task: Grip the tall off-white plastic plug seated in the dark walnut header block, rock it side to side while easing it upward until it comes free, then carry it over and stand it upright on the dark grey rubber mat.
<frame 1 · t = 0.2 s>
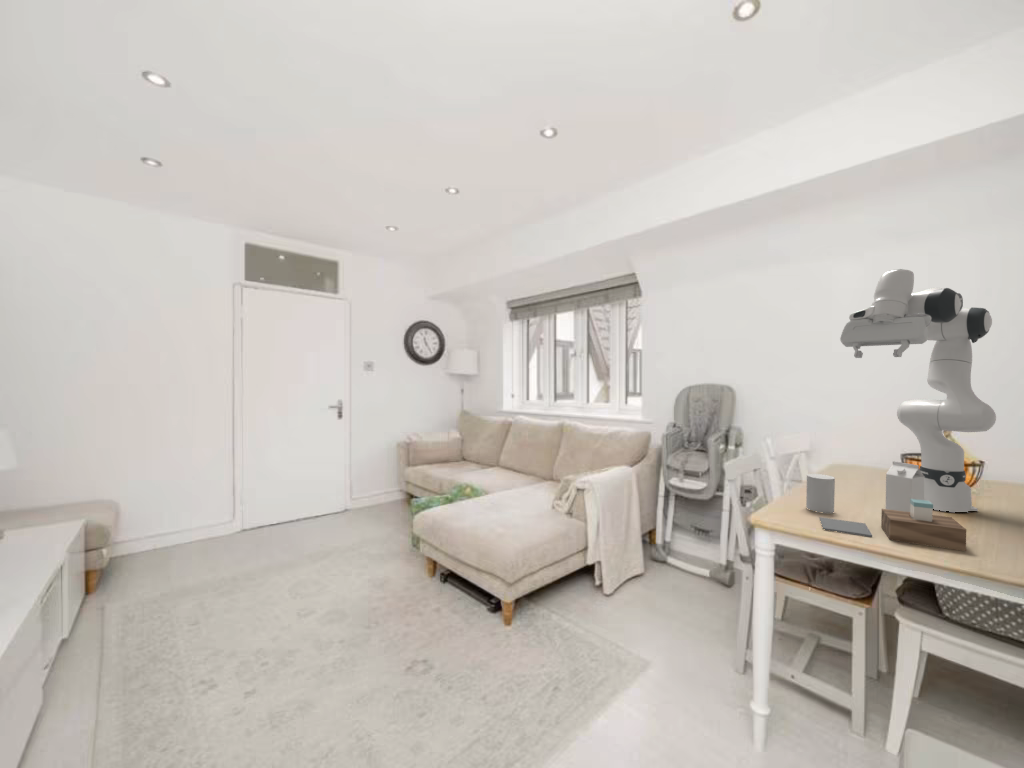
hand: (876, 356, 129), 54 cm above the table, tool tilted 30°, fingers open, 8 cm apart
milk carton: (904, 520, 145), on the table
plug: (920, 520, 129), in the header
mat: (844, 527, 138), on the table
cup: (820, 510, 156), on the table
header: (920, 538, 129), on the table
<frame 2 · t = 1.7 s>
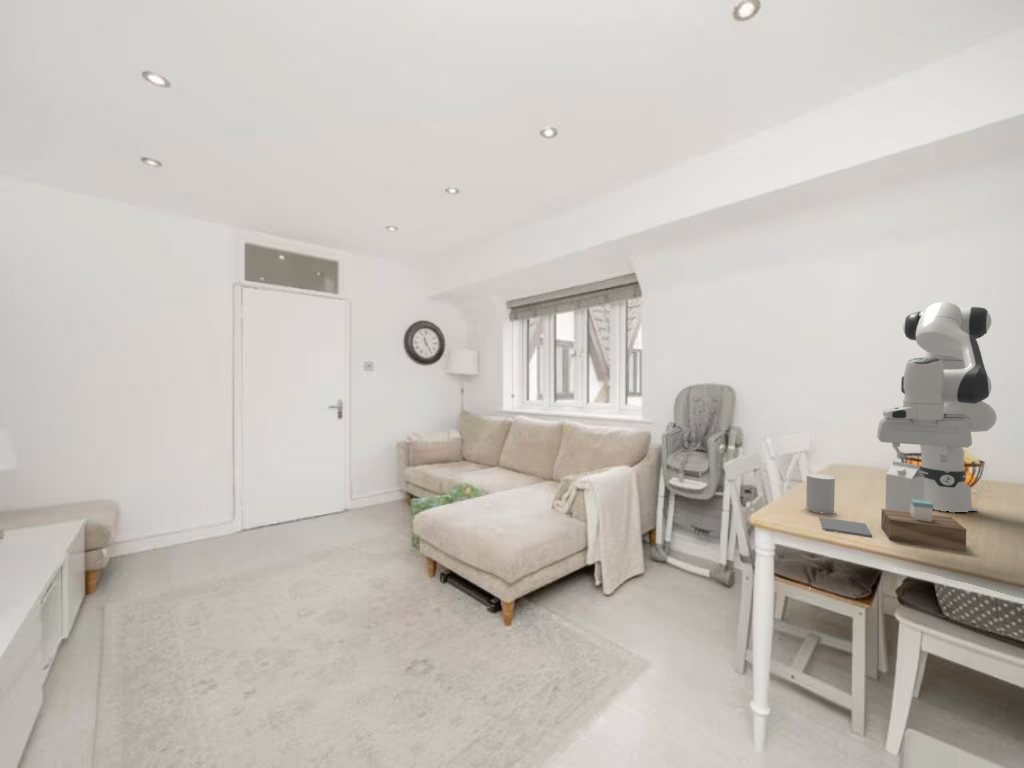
hand: (921, 460, 129), 23 cm above the table, tool pointing down, fingers open, 8 cm apart
nothing on the table moved.
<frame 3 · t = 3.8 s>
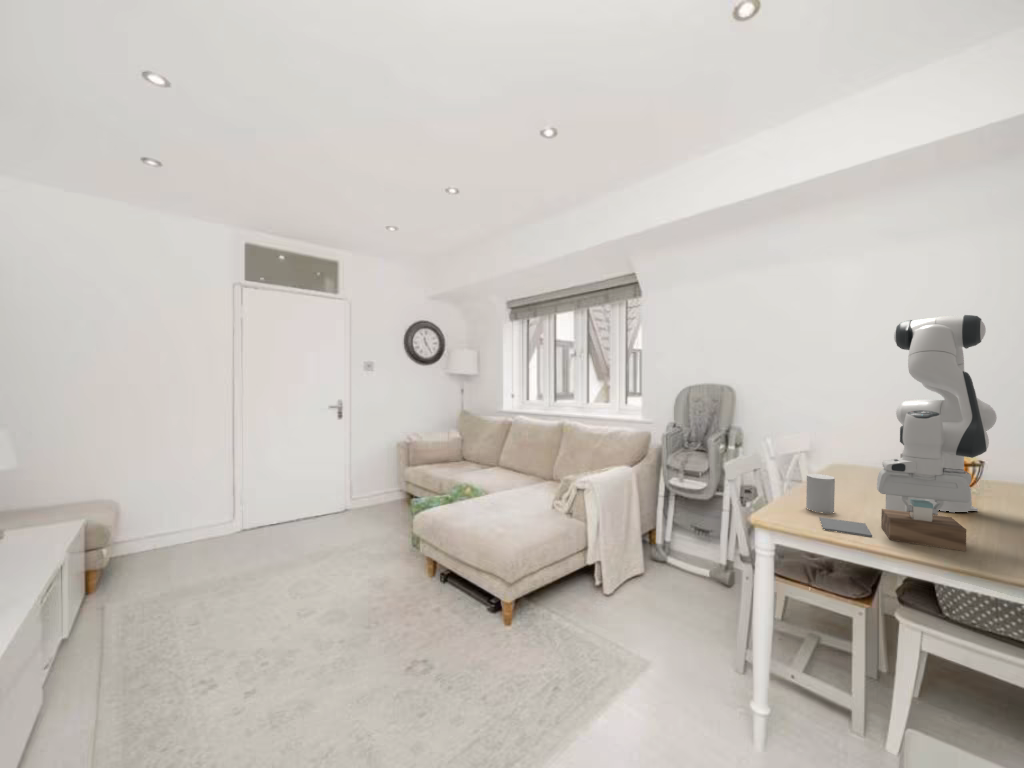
hand: (921, 512, 129), 8 cm above the table, tool pointing down, fingers closed on plug, 4 cm apart
plug: (920, 520, 129), in the header, touching gripper
everything else where it was.
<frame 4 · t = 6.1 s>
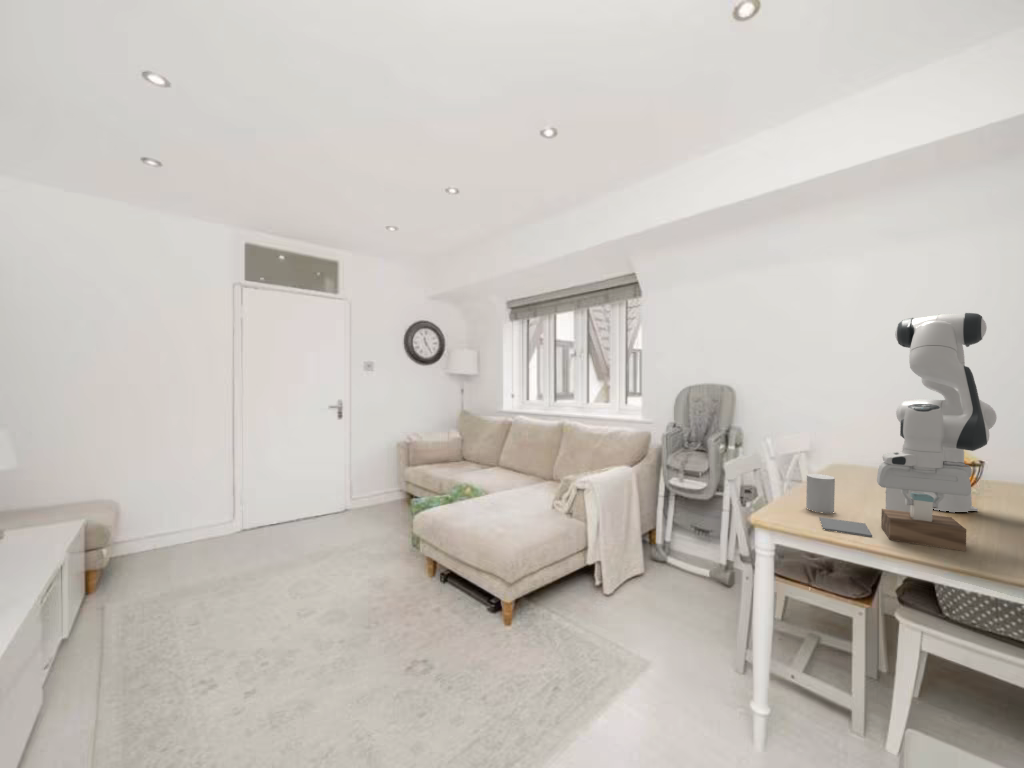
hand: (921, 506, 129), 10 cm above the table, tool pointing down, fingers closed on plug, 4 cm apart
plug: (921, 513, 129), point 7 cm above the table, touching gripper
everything else where it was.
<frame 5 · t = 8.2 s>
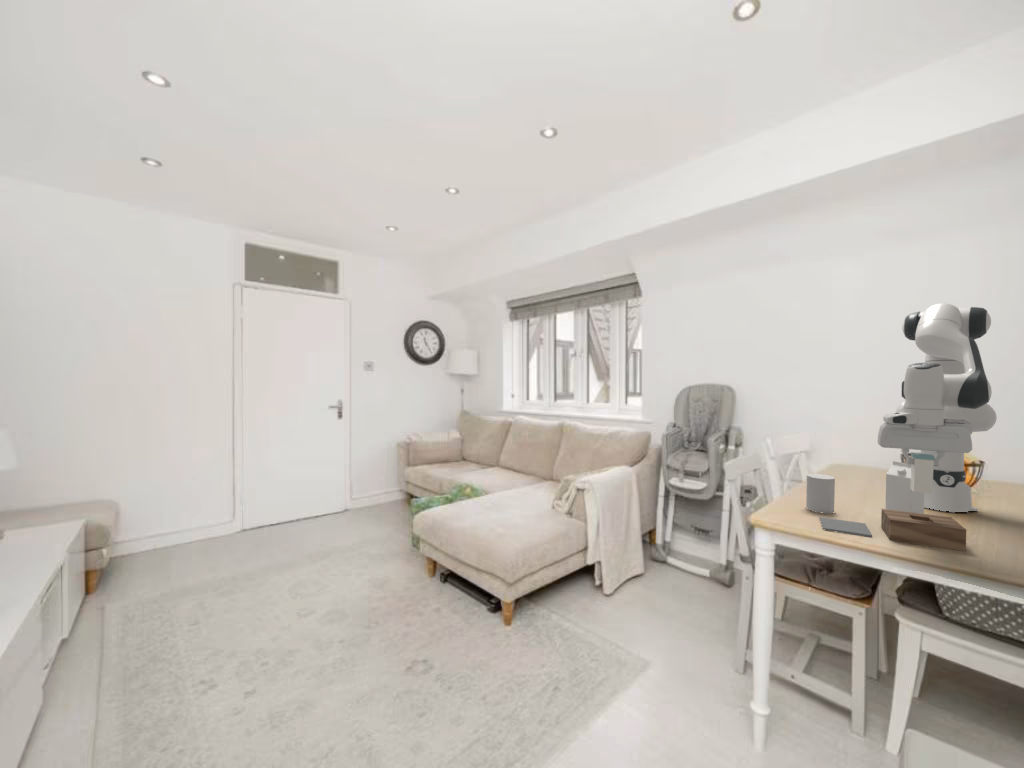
hand: (922, 465, 129), 22 cm above the table, tool pointing down, fingers closed on plug, 4 cm apart
plug: (921, 472, 129), point 20 cm above the table, touching gripper
everything else where it was.
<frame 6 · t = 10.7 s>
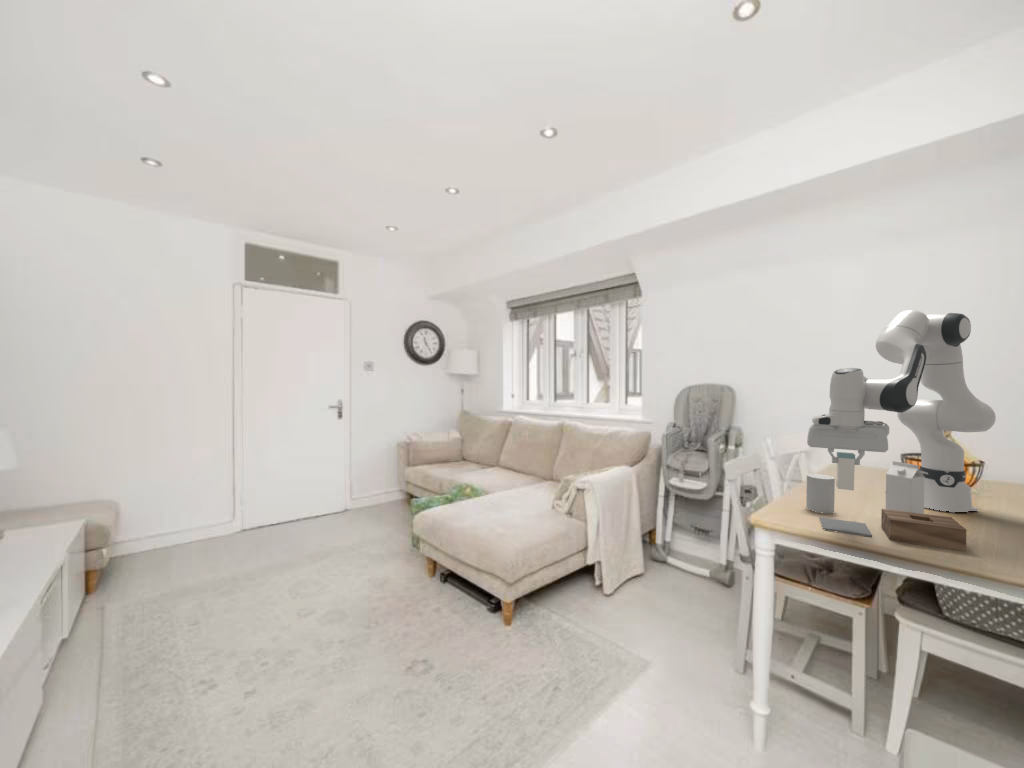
hand: (845, 463, 138), 20 cm above the table, tool pointing down, fingers closed on plug, 4 cm apart
plug: (845, 470, 138), point 18 cm above the table, touching gripper
everything else where it was.
when the fingers open (10 cm above the table, at t = 12.8 s): plug drops 1 cm, resting on mat.
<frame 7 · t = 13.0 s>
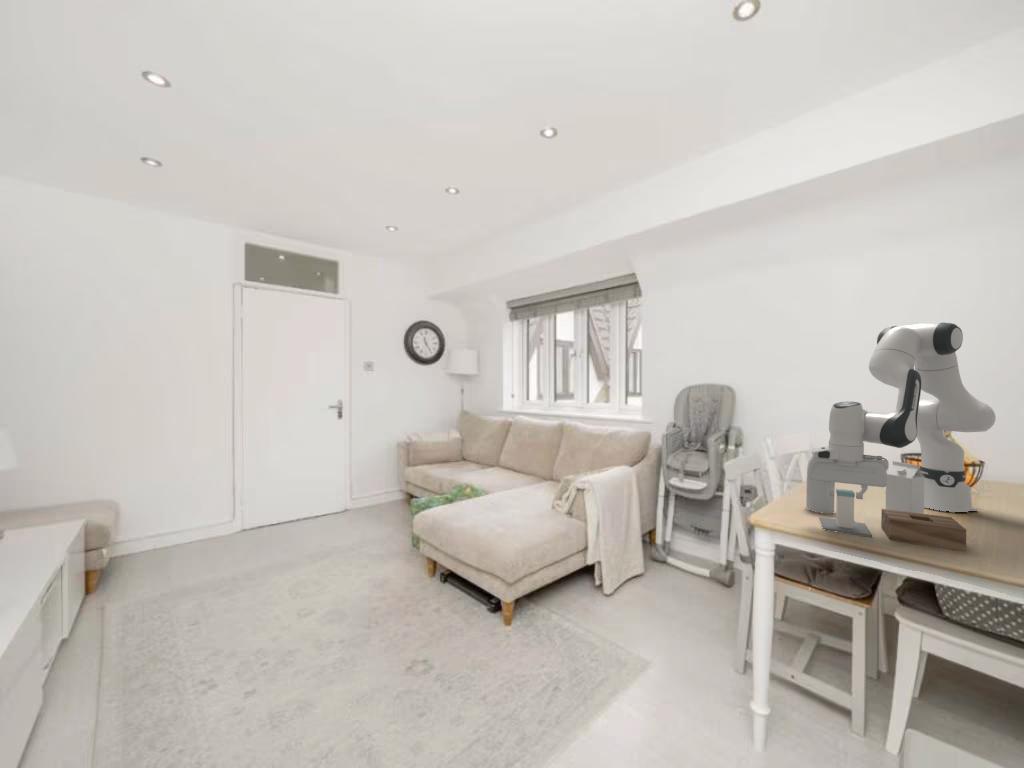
hand: (845, 497, 138), 10 cm above the table, tool pointing down, fingers open, 6 cm apart
plug: (845, 508, 138), on the mat, point 6 cm above the table
everything else where it was.
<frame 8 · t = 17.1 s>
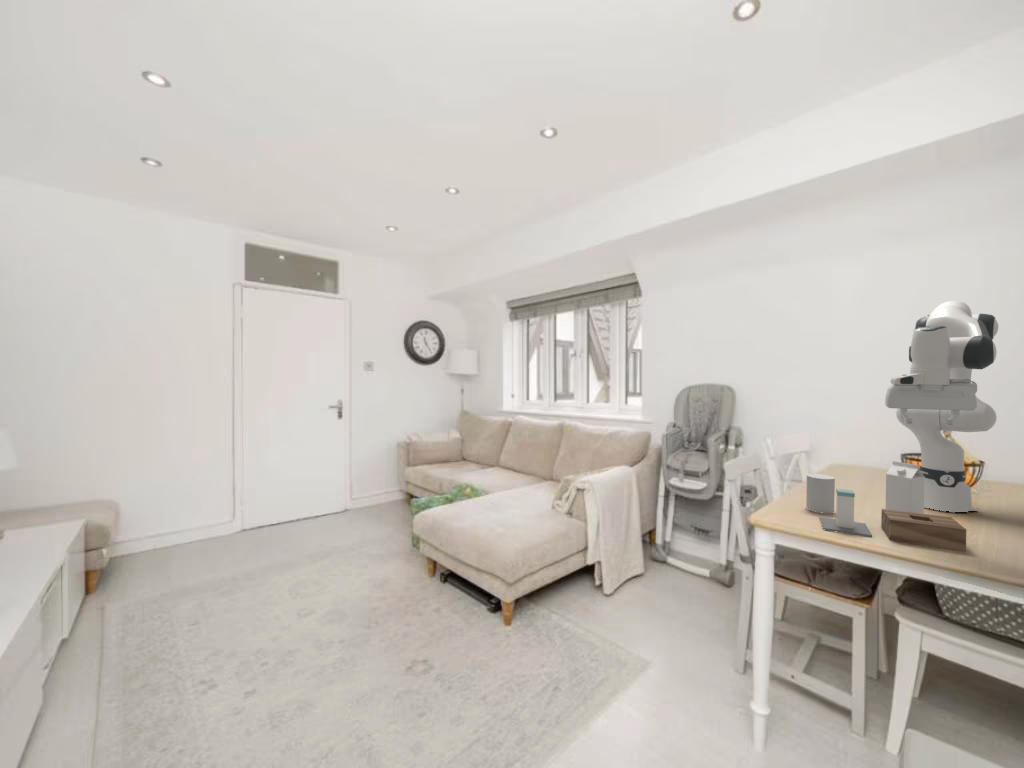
hand: (928, 424, 134), 33 cm above the table, tool pointing down, fingers open, 8 cm apart
nothing on the table moved.
at the end: plug inside the target area on the mat (0.1 cm from its centre), point 6.1 cm above the mat's base; plug tilted 0°; plug touching mat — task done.
